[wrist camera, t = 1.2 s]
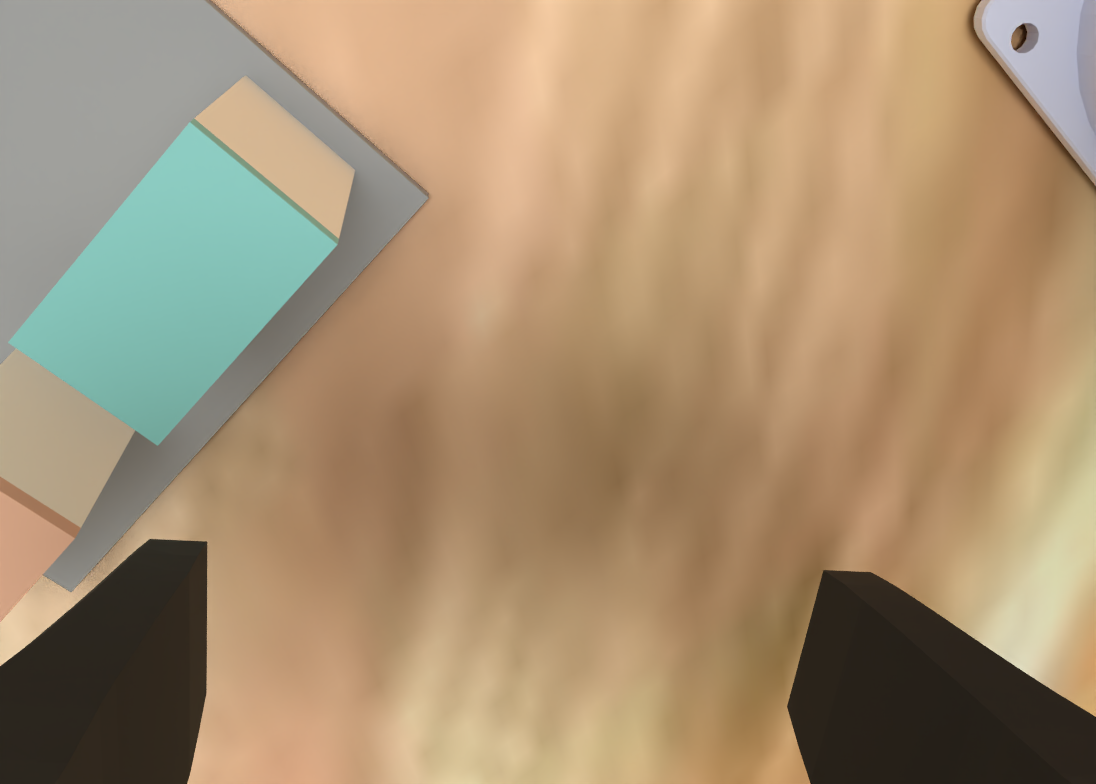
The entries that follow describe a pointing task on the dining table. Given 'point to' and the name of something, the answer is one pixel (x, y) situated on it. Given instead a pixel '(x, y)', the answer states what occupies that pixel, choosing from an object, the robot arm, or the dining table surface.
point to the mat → (119, 166)
